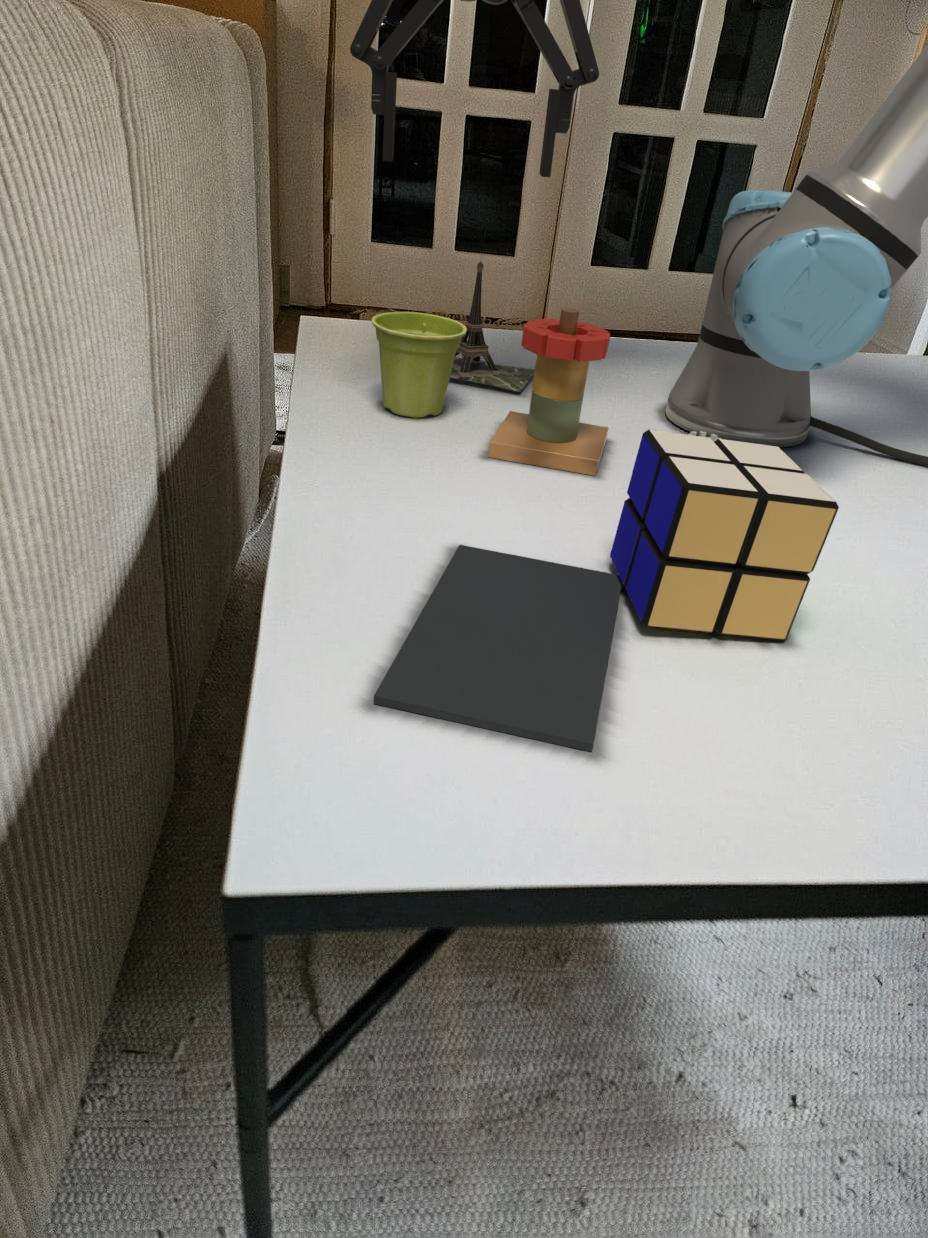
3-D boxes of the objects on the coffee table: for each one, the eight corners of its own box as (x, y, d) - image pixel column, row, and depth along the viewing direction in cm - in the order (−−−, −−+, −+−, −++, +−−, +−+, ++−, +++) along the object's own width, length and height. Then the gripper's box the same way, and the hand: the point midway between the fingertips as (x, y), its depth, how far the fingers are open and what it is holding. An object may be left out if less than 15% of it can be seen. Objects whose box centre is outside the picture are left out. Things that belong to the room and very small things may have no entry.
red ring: (609, 346, 85) (613, 326, 84) (601, 366, 79) (605, 345, 78) (530, 334, 86) (532, 314, 85) (515, 352, 80) (518, 331, 79)
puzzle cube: (607, 557, 66) (642, 426, 61) (736, 572, 68) (780, 445, 63) (641, 629, 58) (685, 484, 53) (787, 644, 59) (844, 504, 54)
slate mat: (621, 582, 65) (623, 575, 64) (591, 752, 48) (593, 743, 47) (458, 551, 66) (459, 544, 66) (373, 704, 49) (373, 695, 49)
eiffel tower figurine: (392, 373, 104) (399, 249, 97) (419, 353, 113) (427, 238, 106) (519, 395, 101) (536, 269, 94) (537, 373, 110) (553, 256, 103)
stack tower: (605, 441, 91) (630, 307, 84) (595, 476, 82) (622, 329, 76) (508, 425, 92) (524, 291, 86) (487, 457, 84) (504, 312, 77)
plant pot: (462, 401, 98) (471, 318, 93) (453, 429, 89) (461, 340, 85) (376, 390, 98) (381, 307, 93) (359, 417, 90) (363, 327, 85)
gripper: (648, -120, 72) (603, 177, 82) (330, -156, 70) (327, 150, 81) (666, -140, 65) (615, 186, 76) (317, -180, 64) (315, 156, 75)
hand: (466, 168), depth 79 cm, fingers open, 13 cm apart
